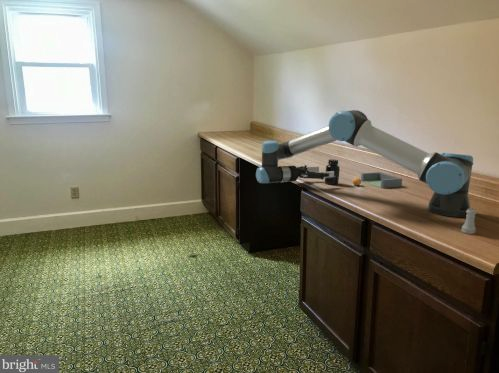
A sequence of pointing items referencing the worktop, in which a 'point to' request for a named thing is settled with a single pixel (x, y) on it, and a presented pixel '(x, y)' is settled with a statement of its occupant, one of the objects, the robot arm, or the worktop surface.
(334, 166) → the supplement bottle
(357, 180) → the ball
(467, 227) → the rook chess piece
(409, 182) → the worktop surface
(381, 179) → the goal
